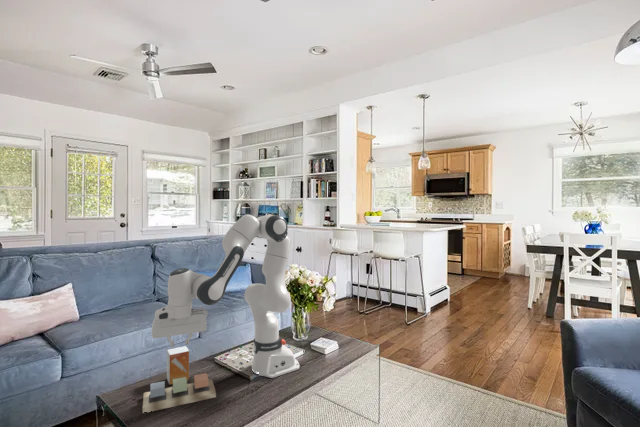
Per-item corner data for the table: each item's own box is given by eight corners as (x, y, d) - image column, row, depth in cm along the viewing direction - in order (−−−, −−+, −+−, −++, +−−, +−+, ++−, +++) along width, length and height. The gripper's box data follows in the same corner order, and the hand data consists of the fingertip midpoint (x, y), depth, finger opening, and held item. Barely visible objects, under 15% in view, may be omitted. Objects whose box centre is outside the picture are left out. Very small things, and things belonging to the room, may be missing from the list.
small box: (169, 385, 146) (169, 355, 145) (166, 378, 151) (166, 349, 151) (189, 380, 150) (189, 350, 150) (186, 373, 156) (186, 345, 155)
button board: (211, 383, 148) (212, 378, 148) (215, 397, 138) (215, 391, 138) (143, 397, 137) (143, 392, 136) (142, 413, 127) (142, 407, 127)
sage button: (186, 384, 140) (186, 376, 140) (187, 390, 136) (187, 382, 136) (172, 386, 138) (172, 379, 138) (173, 393, 134) (173, 385, 134)
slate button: (164, 388, 137) (164, 381, 137) (164, 395, 132) (164, 387, 132) (150, 391, 135) (150, 383, 135) (150, 398, 130) (150, 390, 130)
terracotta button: (206, 380, 144) (206, 372, 144) (208, 385, 139) (208, 378, 139) (194, 382, 142) (194, 375, 141) (195, 388, 137) (195, 381, 137)
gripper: (206, 305, 143) (206, 337, 144) (151, 311, 134) (151, 346, 135) (208, 309, 137) (208, 343, 138) (151, 316, 129) (151, 352, 129)
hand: (179, 345), depth 136 cm, fingers open, 4 cm apart
